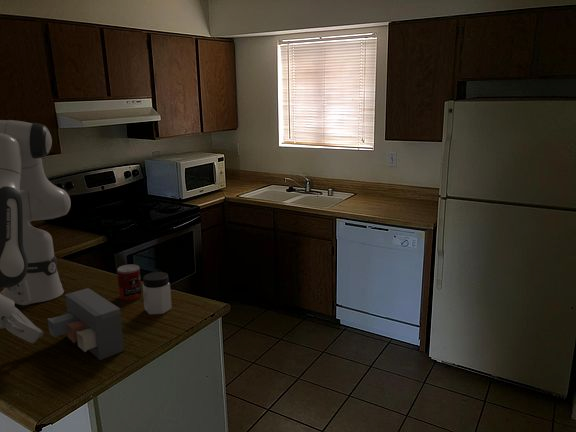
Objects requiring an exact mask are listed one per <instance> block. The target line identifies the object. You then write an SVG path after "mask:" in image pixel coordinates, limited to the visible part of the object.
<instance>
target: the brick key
mask: <svg viewBox="0 0 576 432" xmlns="http://www.w3.org/2000/svg"><path fill="white" fill-rule="evenodd" d="M66 325H67V333H66V334H67V338H68V339H69V340H70V341H71V342H72V343H73V344H76V343H77V342H78V341H77V333H76V332H77V331H79V332H80V331H83V330H86V329H85V324H84V323H83V322H82V321H80V320H79V321H76V322H73V323H66Z"/></svg>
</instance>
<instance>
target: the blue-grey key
mask: <svg viewBox="0 0 576 432" xmlns="http://www.w3.org/2000/svg"><path fill="white" fill-rule="evenodd" d="M47 322H48V323H47V324H48V331H49V332H48V333H49V334H51V336H53V337H54V338H57V337H59V336H61V335H64V334H68V333H67V325H66V323H73V322H76V321H75V316H74V315H73V314H71V313H68V314H67V313H64V314H61V315H59V316H56V317H52V318H49V317H48V318H47Z"/></svg>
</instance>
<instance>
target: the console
mask: <svg viewBox="0 0 576 432" xmlns="http://www.w3.org/2000/svg"><path fill="white" fill-rule="evenodd" d="M64 297H65V306H66V314H68V313H71V314H73V315H74V316H75V321H79V320H80V321H82V322H83V323H84V324H85V329H89V328H91V329H92V330H93V331H94V332H96V341H97V347H94V348H91V349H89V350H88V352H90V353H91V354H92V355H93V356H95V357H96V358H97V360H99V361H102V360H104V359H107V358H109V357H113V356H114V355H117V354H120V353H122V352H124V351H125V345H124V335H123V325H122V315H121V314H122V313H121V308H120V307H118V306H117V305H115V304H114V303H112V302H110V301H109V300H108V299H106V298H105V297H103V296H101V295H100V294H98V293H97V292H95V291H94V290H92V289H91V288H89V287H87V288H84V289H79V290H77V291H73V292H69V293H65V294H64Z"/></svg>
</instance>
